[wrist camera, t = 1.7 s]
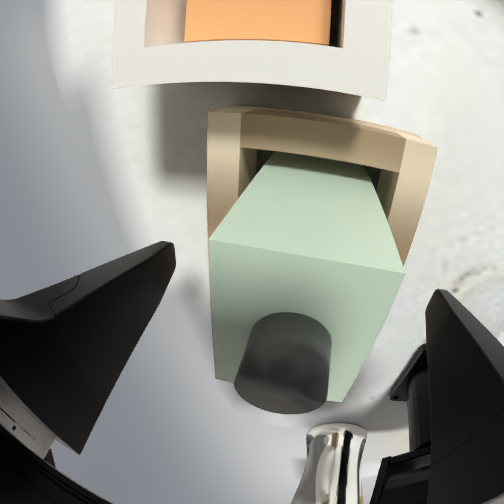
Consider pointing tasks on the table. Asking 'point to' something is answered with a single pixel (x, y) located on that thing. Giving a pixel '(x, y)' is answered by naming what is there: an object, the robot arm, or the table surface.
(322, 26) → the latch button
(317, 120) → the tan wooden frame
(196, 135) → the table surface
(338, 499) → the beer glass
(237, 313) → the plug
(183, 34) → the socket
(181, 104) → the table surface
